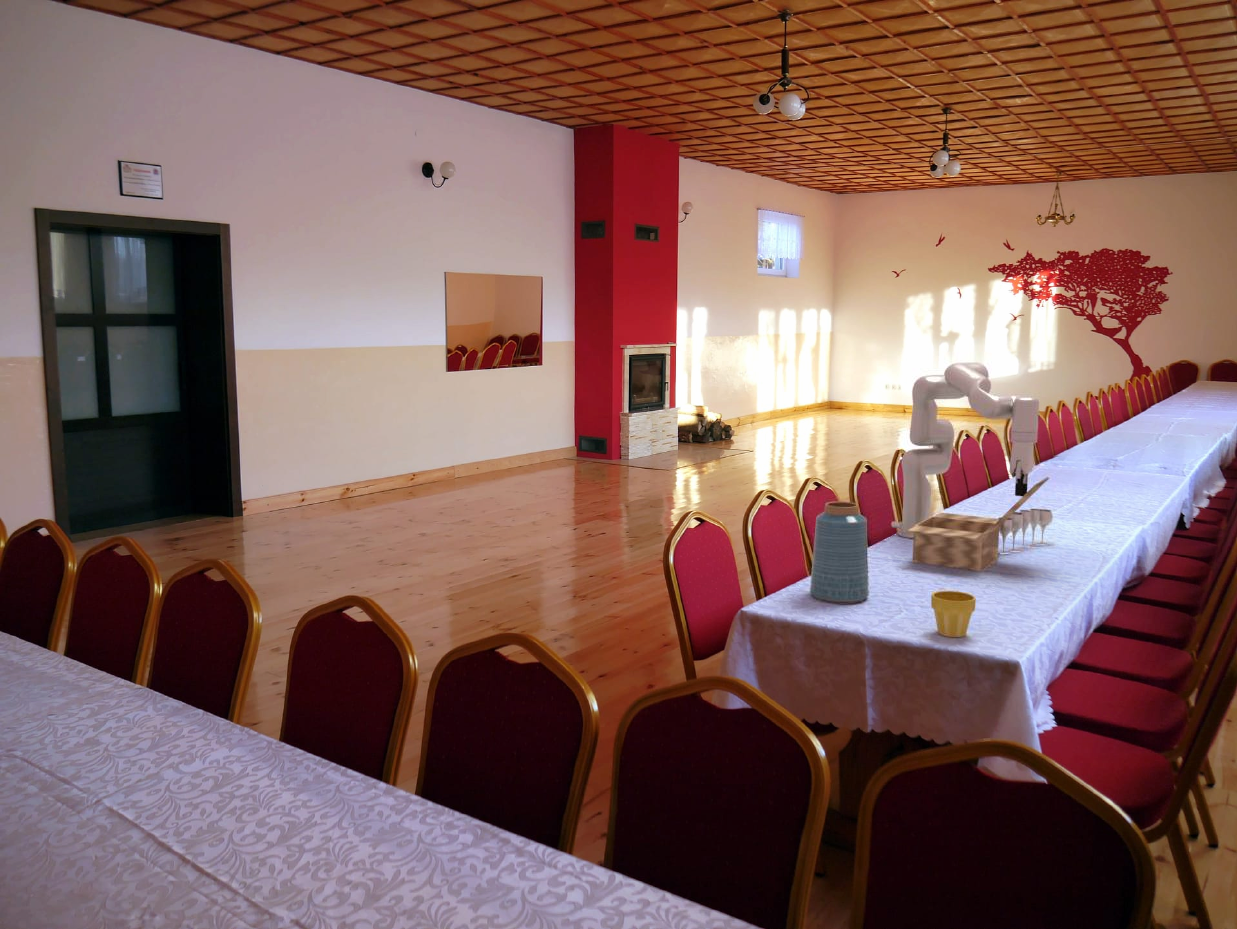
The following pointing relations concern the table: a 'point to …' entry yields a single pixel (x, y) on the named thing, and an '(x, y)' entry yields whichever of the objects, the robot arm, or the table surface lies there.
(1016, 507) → the lid flap
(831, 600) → the vase
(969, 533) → the carton
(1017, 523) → the goblet set
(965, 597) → the plant pot
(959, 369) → the robot arm
